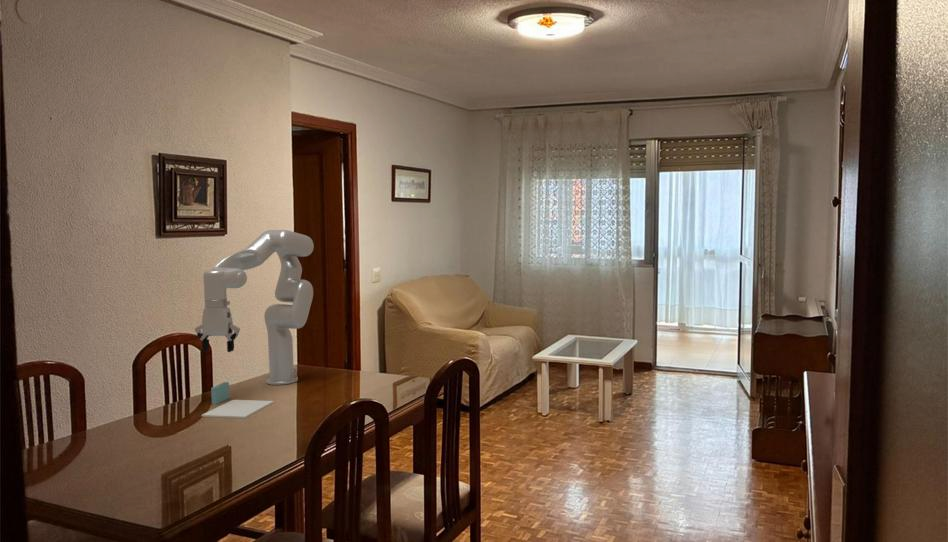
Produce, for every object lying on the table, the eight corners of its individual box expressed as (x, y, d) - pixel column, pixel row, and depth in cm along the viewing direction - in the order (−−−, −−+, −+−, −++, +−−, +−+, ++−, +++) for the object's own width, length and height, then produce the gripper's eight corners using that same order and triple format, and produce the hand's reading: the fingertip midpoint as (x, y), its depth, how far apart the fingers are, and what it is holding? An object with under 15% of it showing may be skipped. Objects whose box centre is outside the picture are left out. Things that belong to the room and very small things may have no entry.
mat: (233, 401, 256) (233, 399, 256) (273, 402, 253) (273, 401, 253) (201, 416, 237) (201, 414, 237) (244, 418, 234) (244, 416, 234)
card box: (225, 397, 262) (224, 382, 262) (229, 398, 262) (228, 382, 261) (211, 404, 253) (210, 387, 253) (215, 404, 253) (215, 388, 252)
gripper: (243, 303, 256) (245, 349, 258) (200, 302, 260) (202, 348, 261) (232, 305, 249) (234, 353, 250) (188, 305, 252) (190, 352, 254)
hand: (218, 351), depth 256 cm, fingers open, 9 cm apart
